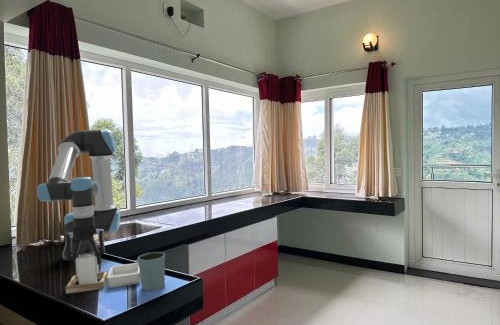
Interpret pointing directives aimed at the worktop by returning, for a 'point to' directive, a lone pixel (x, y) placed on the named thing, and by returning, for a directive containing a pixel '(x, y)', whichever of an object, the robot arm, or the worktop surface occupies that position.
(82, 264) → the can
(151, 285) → the grey-green cup
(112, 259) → the worktop surface
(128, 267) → the tray
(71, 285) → the holder ring
